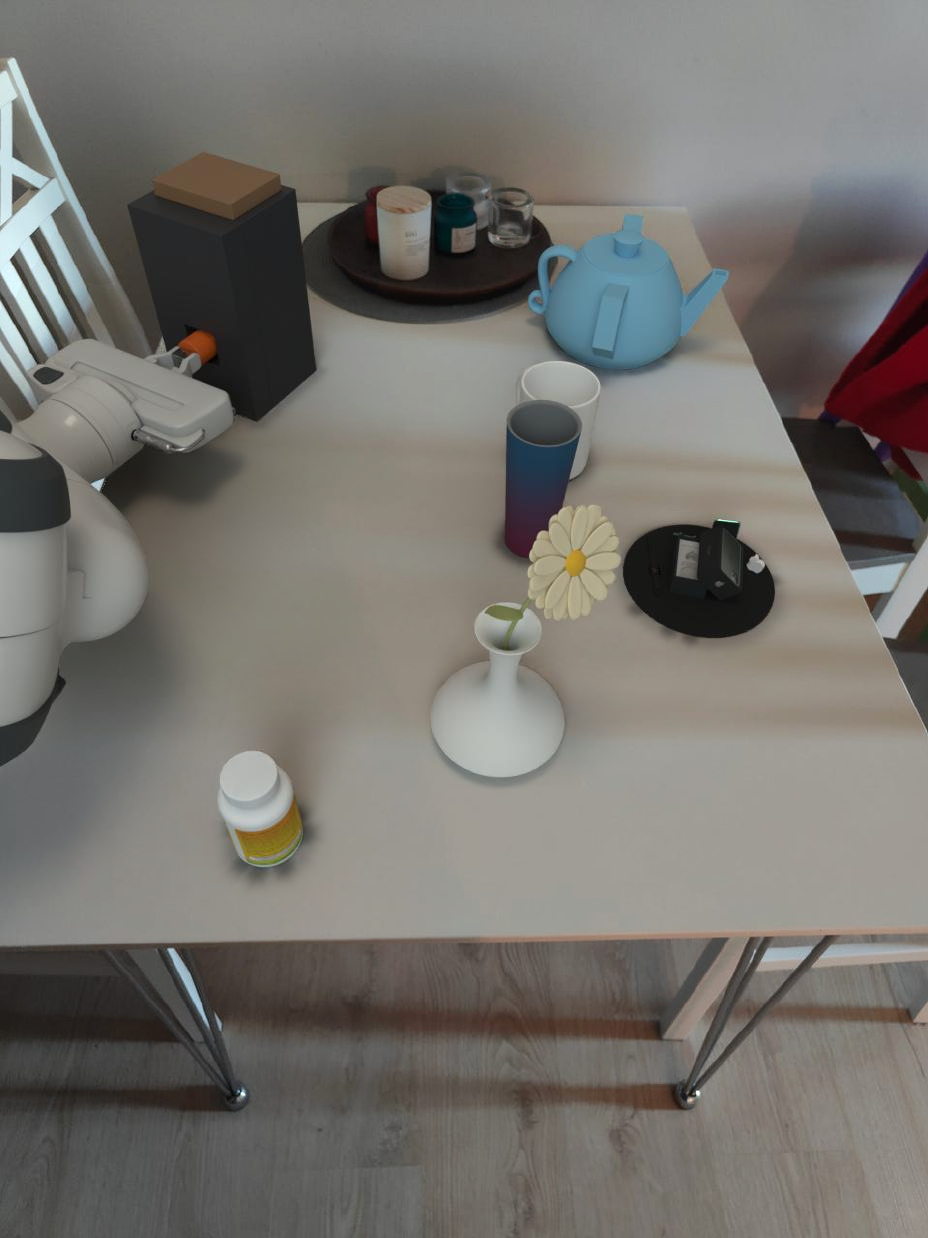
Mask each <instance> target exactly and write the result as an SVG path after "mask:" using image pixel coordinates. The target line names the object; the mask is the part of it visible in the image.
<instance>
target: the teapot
mask: <svg viewBox="0 0 928 1238" xmlns="http://www.w3.org/2000/svg"><path fill="white" fill-rule="evenodd" d="M643 223H644V215H638V214H630V213H624V214H623V221H622V226H621V229H620V230H617V231H615V232H613V233H612V232H611V233H604V234H600V235H596V236H594V237H592V238H591V239H589V240H587V241H586V242H585V243H584V244H583V245H582V246H580V247H579V249H578V250H576V249H575V248H574V247H572V246H570V245H567V244H555V245H552V246H550V247H548V248H547V249H545V250H544V251H542V253H541V255H540V257H539V259H538V261H537V262H538V263H537V279H538V284H539V289H535V290H533V291H532V292H531V293H530V294H529V295H528V298H527V306H528V309H529V310H530V311H531V312H532V313H534V314H535V315H537V316H538V315H540V316H543V315H544V321H545V325H546V329H547V330H548V332H549V335H550V336H551V337H552V339H553V340H554V342H556V344H557V346H559V347H560V348H561V350H563V352H564V353H565V354H566V355H568V356H569V357H571V358H573V359H574V360H576V361H579V362H580V363H583V364H586V365H588V366H592V367H594V368H595V367H596V368H601V369H606V370H630V369H631V370H632V369H637V368H641V367H644V366H647V365H649V364H652V363H653V362H655V361H656V360H659V359H660V358H662V357H663V356H665V355H666V354H668V353H669V352H670V351H672V349H673V348H674V347H675V346H676V345H677V343H678V342H679V341H680V339H681V337H686V336H687V334H688V333H689V332H690V331H691V329H692V327H693V326H694V325H695V323H696V322H697V321H698V319H699V318H700V317H701V315H703V313H704V311H705V310H706V309H707V308H708V306H709V305H710V304H711V303H712V301H713V300H714V298H715V297H716V296H717V294H719V292H720V290H721V289H722V287H723V286H724V285H725V284H726V283H727V281H728V280H729V277H730V270H726V269H722V268H721V269H720V268H716V267H713V268H712V270H711V271H710V272H709V273H708V275H706V276H705V277H704V278H703V279H702V280H701V281H700V282H699V283H698V284H696V286H695V287H693V289H692V290H690V291H689V293H683V288H682V285H681V282H680V279H679V276H678V273H677V271H676V268H675V266H674V263H673V261H672V259H671V257H670V255H669V253H668V252H667V250H666V249H665V248H664V247H663V246H662V245H660V244H659V243H658V242H656V241H654V240H653V239H650V238H648V237H645V236H644V235H643V234H642V231H643ZM555 257H560V258H564V259H566V260H568V262H567V263H566V265H564V267H563V268H562V269H561V271H560V272H559V274H558V276H557V277H556V279H555V281H554V283H553V285H552V287H551V286H550V280H549V275H548V263H549V260H550V259H551V258H555ZM536 298H540V299H541V303H540V302H538V301H537V300H536Z"/></svg>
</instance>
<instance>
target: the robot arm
mask: <svg viewBox="0 0 928 1238" xmlns="http://www.w3.org/2000/svg"><path fill="white" fill-rule="evenodd" d="M201 365H202V363H201V359H200V355H199V354H197V353H194V352H191V351H188V350H186V349H184V348H181V347H178V346H176V347H174V348H173V349H171V350H170V351H169V352H166V351H165V352H161V353H155V354H149V355H148V356H146V357H145V358H142V357H140V356H137V355H135V354H132V353H129V352H127V351H124V350H122V349H119V348H117V347H114V346H111V345H109V344H106V343H104V342H102V341H98V340H97V339H94V338H84V339H78V340H75V341H73V342H71V343H70V344H68V345H67V346H65V347H63V348H62V349H60V350H58V351H57V352H56V353H54V354H52V355H51V356H50V357H49V358H48V359H46V361H45V363H44V364H42V363H41V364H40V363H39V364H36V365H34V366H32V367H31V368H29V369H27V371H26V373H25V375H26V377H27V380H28V383H29V387H30V388H31V392H32V394H33V395H34V398H35V401H36V404H37V405H38V406H37V407H36V409H35V410H34V411H33V413H32V414H31V415H30V416H28V417H27V418H25V419H23V420H21V421H18V419H17V418H16V417H15V415H14V413H13V412H12V411H11V409H10V408H9V407H8V405H7V403H6V402H5V401H4V399H3V398H2V396H1V395H0V768H1V767H3V766H5V765H7V764H8V763H9V762H12V761H13V760H14V759H16V758H18V757H19V756H20V755H22V754H23V753H25V752H27V750H28V749H29V748H30V747H31V746H32V745H33V743H34V742H35V741H36V739H37V737H38V735H39V733H40V732H41V729H42V727H43V726H44V724H45V722H46V720H47V718H48V715H49V713H50V710H51V709H52V706H53V704H54V703H55V701H56V700H57V698H58V697H59V696H60V694H61V693H62V692H63V690H64V689H65V686H66V685H67V681H66V679H65V678H64V677H63V676H62V675H61V674H60V660H61V657H62V654H63V652H64V650H65V649H66V647H68V646H69V645H71V644H75V643H86V642H93V641H98V640H101V639H104V638H105V639H106V638H107V637H109V636H112V635H114V634H116V633H118V632H119V631H121V630H122V629H124V628H125V627H126V626H128V624H129V623H131V622H132V621H133V620H134V619H135V618H136V616H137V615H138V614H139V612H140V610H141V609H142V607H143V605H144V604H145V601H146V599H147V596H148V592H149V587H150V570H149V569H150V568H149V564H148V561H147V558H146V554H145V551H144V550H143V547H142V544H141V541H140V539H139V538H138V537H137V534H136V533H135V531H134V529H133V528H132V526H131V525H130V523H129V521H128V520H127V519H126V518H125V516H124V515H123V513H122V512H121V511H120V510H119V509H118V508H117V506H115V505H114V504H113V503H112V502H111V501H110V499H108V497H107V496H105V495H104V493H102V492H101V491H100V490H98V489H97V488H96V487H95V486H93V485H92V484H94V483H97V482H98V481H101V480H103V479H105V478H107V477H109V476H110V475H111V474H112V473H114V472H115V471H117V469H119V468H120V467H122V466H123V465H124V464H125V463H126V462H128V461H129V460H130V459H132V458H133V457H134V456H136V455H137V454H138V453H139V452H140V451H141V450H143V448H144V446H148V447H151V448H154V449H156V450H157V451H159V452H161V453H163V454H166V455H167V454H168V455H171V454H173V453H184V454H185V453H189V452H192V451H195V450H197V449H199V448H202V446H204V445H207V444H208V443H209V442H211V441H212V440H214V439H215V438H217V437H219V436H220V435H222V434H223V433H224V432H226V431H227V430H228V429H229V428H231V427H232V425H233V424H234V416H233V410H232V405H231V401H230V398H229V395H228V393H227V392H225V391H223V390H221V389H218V388H216V387H213V386H210V385H208V384H205V383H203V382H200V381H198V380H195V379H193V378H192V374H193V373H195V372H196V371H197V370H198V369H200V367H201Z"/></svg>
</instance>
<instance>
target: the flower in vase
mask: <svg viewBox="0 0 928 1238" xmlns="http://www.w3.org/2000/svg"><path fill="white" fill-rule="evenodd" d="M602 513H603V511H602V508H601V506H599V505H596V504H590V505H589V506H587V505H585V504H583V503H581V504H579V505H577V506H576V508H575V509H574V508H573V507H572V506H571V505H567V506H564V507H562V509H561V510H560V511H559V512H558V515H554V516H552V517H551V519H550V521H549V532H547V531H541V532H539V533H538V535H537V539H536V541H535V542H534V544H533V548H532V549H531V551H530V554H529V558H528V559H529V560H530V562H532V563H531V564H530V565H529V566H528V568H527V571H526V574H527V577H528V578H529V583H528V585H529V587H528V589H527V596H528V597H527V598H526V599H525V601H524V603H523V604H519V603H517V602H508V601H507V602H506V601H504V602H497V603H493V604H490V605H488V606H487V607H484V608H483V609H482V610H481V611H480V612H479V613H478V614H477V616H476V617H475V620H474V626H473V629H474V633H475V636H476V638H477V640H478V642H479V643H480V644H481V645H482V646H483V648H485V649H486V650H487V652H488V658H489V660H485V661H479V662H475V663H472V664H470V665H466V666H465V667H463V668H461V669H459V670H457V671H456V672H454V673H453V674H452V675H451V676H449V677H448V678H447V679H446V680H445V681H444V682H443V684H442V685H441V686H440V688H439V689H438V691H437V693H436V694H435V696H434V698H433V701H432V703H431V707H430V717H429V718H430V719H429V721H430V728H431V733H432V735H433V737H434V739H435V742H436V743H437V745H438V746H439V748H440V749H441V751H442V752H443V753H444V755H446V756H447V758H448V759H450V760H451V761H452V762H453V763H455V764H456V765H458V766H459V767H461V768H463V769H465V770H467V771H469V772H471V773H474V774H477V775H480V776H484V777H490V778H511V777H515V776H517V777H518V776H521V775H524V774H527V773H529V772H532V771H534V770H536V769H537V768H539V767H540V766H542V765H544V764H545V763H546V762H548V761H549V760H550V759H551V757H552V756H553V755H554V754H555V753H556V751H558V748H559V747H560V744H561V742H562V740H563V737H564V734H565V724H566V723H565V721H566V719H565V713H564V709H563V706H562V703H561V701H560V699H559V697H558V695H557V693H556V691H555V689H554V688H553V686H551V684H550V683H549V682H548V681H547V680H546V679H545V678H544V677H543V676H542V675H540V674H539V673H537V672H535V671H534V670H532V669H530V668H528V667H526V666H525V665H522V664H520V662H521V659H522V657H523V655H524V654H526V653H528V652H530V651H532V650H533V649H535V648H536V647H537V645H538V644H539V642H540V641H541V639H542V635H543V626H542V621H541V620H540V619H539V617H538V615H537V614H536V613H535V612H534V611H533V610H532V609H530V608H529V605H530V604H531V602H532V601H533V600H534V604H535V606H536V608H537V609H538V610H542V609H543V615H544V618H545V619H546V620H551V619H552V618H553V619H554V620H555V621H556V622H560V621H561V620H566V619H568V617H569V618H570V619H571V620H572V621H576V620H578V619H579V618H580V617H581V615H582V616H583V617H587V616H589V615H590V614H591V612H592V607H593V606H594V604H595V601H596V600H597V601H599V602H603V601H605V600H606V599H607V598H608V595H609V592H608V587H607V586H610V585H612V584H614V583H615V581H616V577H617V576H616V573H615V569H616V568H618V567H619V566H620V565H621V563H622V556H621V555H620V554H619V553H617V548H618V547H619V545H620V538H619V536H617V535H616V534H617V530H616V528H615V527H614V525H613V523H612V522H611V521H609V518H608V517H607V516H606V515H602Z"/></svg>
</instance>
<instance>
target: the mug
mask: <svg viewBox="0 0 928 1238" xmlns="http://www.w3.org/2000/svg"><path fill="white" fill-rule="evenodd" d="M601 388H602V386H601V383H600V380H599V378H598V377H597V375H595V373H594V372H593V371H592V370H590V369H589V368H587V367H586V366H583V365H581V364H578V363H574V362H571V361H564V360H549V361H548V360H547V361H543V362H539V363H536V364H534V365H532V366H527V367H525V368H522V370H521V371H520V373H519V374H518V376H517V379H516V384H515V401H516V406H517V405H519V404H521V403H524V402H527V401H531V400H550V401H555V402H558V403H561V404H564V405H566V406H568V407H569V408H571V409H572V410H574V411H575V412H576V413H577V414H578V416H579V417H580V419H581V422H582V430H581V434H580V438H579V442H578V446H577V450H576V454H575V458H574V462H573V466H572V470H571V474H570V478H569V481H570V480H572V479H574V478H576V477H578V475H580V474H581V473H582V472H583V471H584V469H585V467H586V465H587V462H588V459H589V454H590V449H591V445H592V439H593V434H594V428H595V423H596V416H597V412H598V406H599V400H600V395H601V390H602V389H601Z"/></svg>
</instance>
